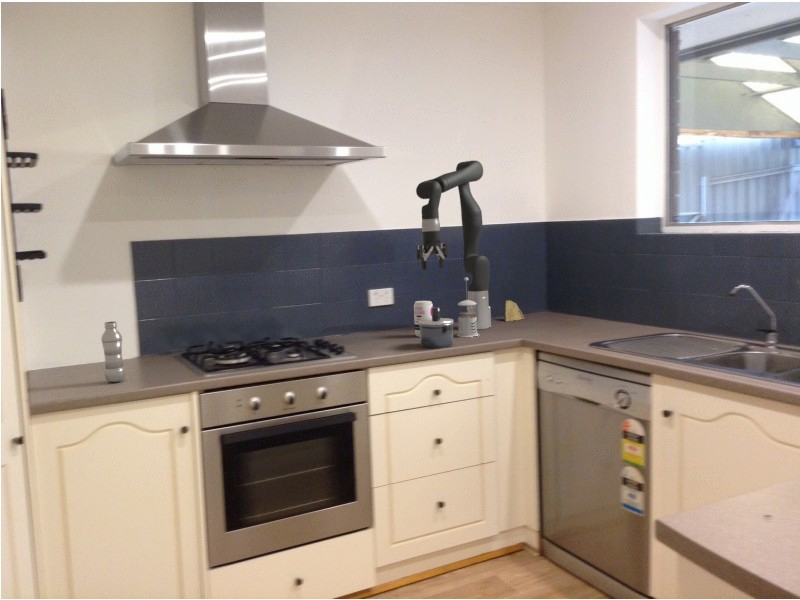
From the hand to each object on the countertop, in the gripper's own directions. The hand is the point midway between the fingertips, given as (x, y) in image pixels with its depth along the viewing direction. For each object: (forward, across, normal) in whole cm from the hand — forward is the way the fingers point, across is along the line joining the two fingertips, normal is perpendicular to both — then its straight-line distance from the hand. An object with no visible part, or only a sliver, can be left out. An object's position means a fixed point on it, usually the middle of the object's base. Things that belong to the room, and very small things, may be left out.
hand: (433, 268), depth 282 cm
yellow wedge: (+31, -58, -16) cm, 67 cm away
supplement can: (+30, 0, -9) cm, 31 cm away
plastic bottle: (+27, +126, -8) cm, 129 cm away
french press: (+30, -13, +4) cm, 33 cm away
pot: (+29, +11, +15) cm, 34 cm away
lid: (+20, +10, +15) cm, 27 cm away
